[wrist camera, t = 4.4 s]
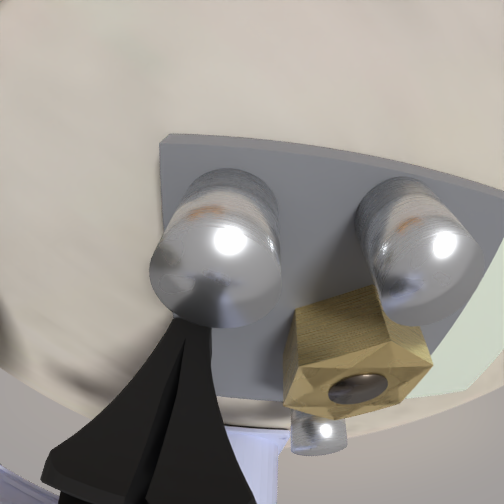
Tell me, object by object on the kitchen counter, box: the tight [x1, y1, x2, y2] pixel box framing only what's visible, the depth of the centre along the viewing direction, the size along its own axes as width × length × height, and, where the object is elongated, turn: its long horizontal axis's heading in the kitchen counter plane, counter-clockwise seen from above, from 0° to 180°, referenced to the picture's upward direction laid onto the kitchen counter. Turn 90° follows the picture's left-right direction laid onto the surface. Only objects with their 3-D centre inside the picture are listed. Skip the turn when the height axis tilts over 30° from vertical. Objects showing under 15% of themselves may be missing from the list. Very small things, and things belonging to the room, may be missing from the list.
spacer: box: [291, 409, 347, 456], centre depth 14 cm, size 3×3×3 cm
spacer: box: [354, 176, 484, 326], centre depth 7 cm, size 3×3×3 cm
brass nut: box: [283, 284, 434, 421], centre depth 11 cm, size 6×5×3 cm
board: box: [159, 134, 504, 401], centre depth 12 cm, size 13×18×1 cm
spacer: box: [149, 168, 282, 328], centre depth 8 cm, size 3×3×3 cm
